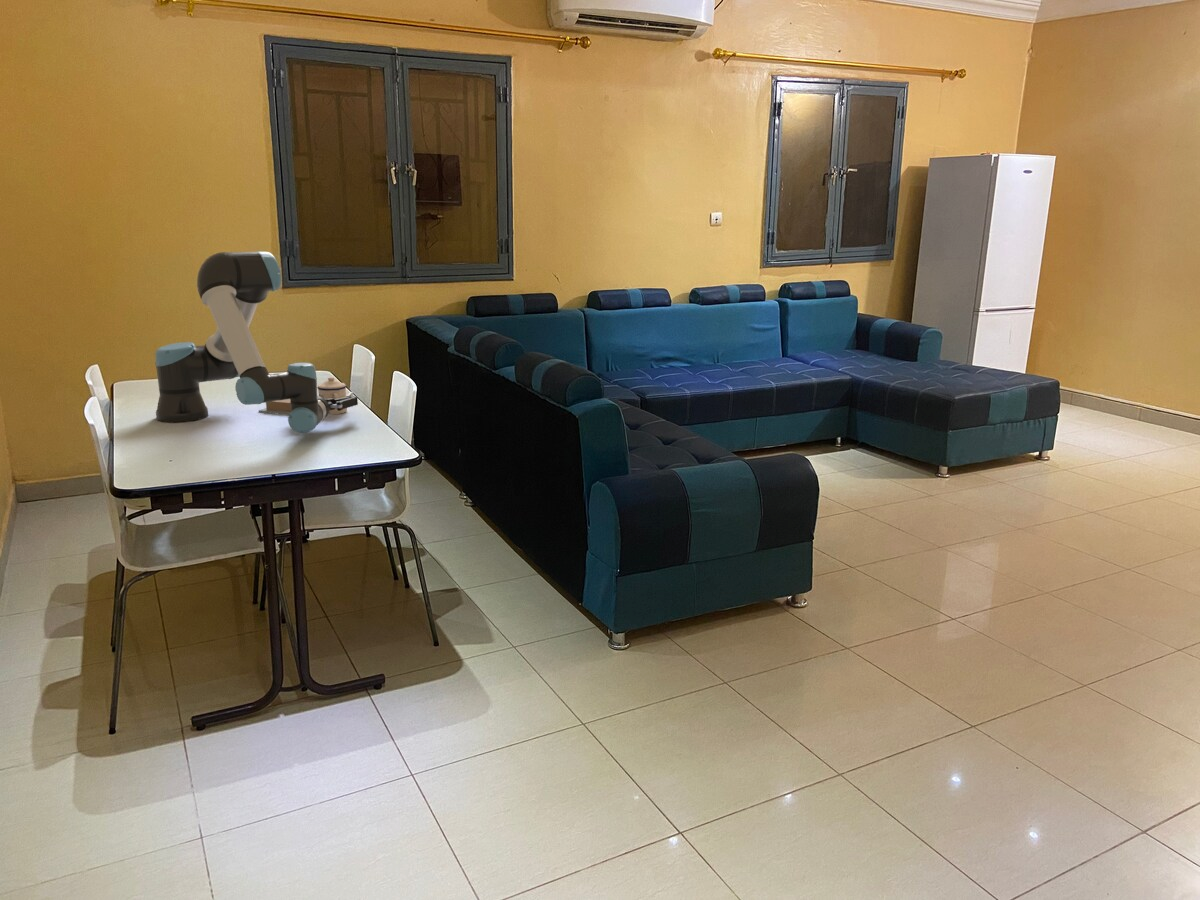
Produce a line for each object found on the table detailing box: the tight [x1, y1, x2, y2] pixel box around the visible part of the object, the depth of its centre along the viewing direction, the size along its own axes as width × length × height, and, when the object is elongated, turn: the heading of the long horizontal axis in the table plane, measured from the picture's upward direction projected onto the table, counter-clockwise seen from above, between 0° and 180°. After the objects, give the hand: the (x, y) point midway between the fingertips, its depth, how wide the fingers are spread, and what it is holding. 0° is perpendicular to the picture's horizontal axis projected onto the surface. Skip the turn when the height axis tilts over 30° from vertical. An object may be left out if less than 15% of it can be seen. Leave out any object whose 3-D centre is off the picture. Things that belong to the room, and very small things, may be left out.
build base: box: [258, 399, 291, 415], centre depth 294 cm, size 16×16×4 cm
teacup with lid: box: [317, 376, 348, 415], centre depth 288 cm, size 12×9×12 cm
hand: (330, 395), depth 282 cm, fingers open, 13 cm apart
